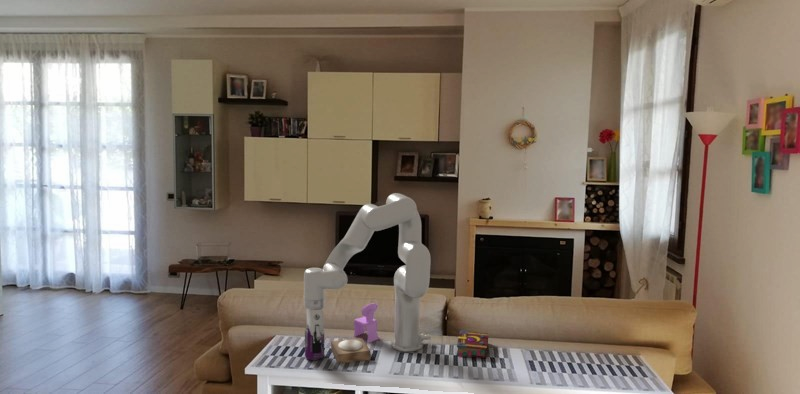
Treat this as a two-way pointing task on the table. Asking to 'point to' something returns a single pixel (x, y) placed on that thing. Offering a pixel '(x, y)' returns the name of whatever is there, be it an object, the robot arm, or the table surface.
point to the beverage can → (309, 345)
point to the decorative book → (472, 344)
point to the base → (350, 350)
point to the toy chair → (367, 323)
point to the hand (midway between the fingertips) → (314, 347)
